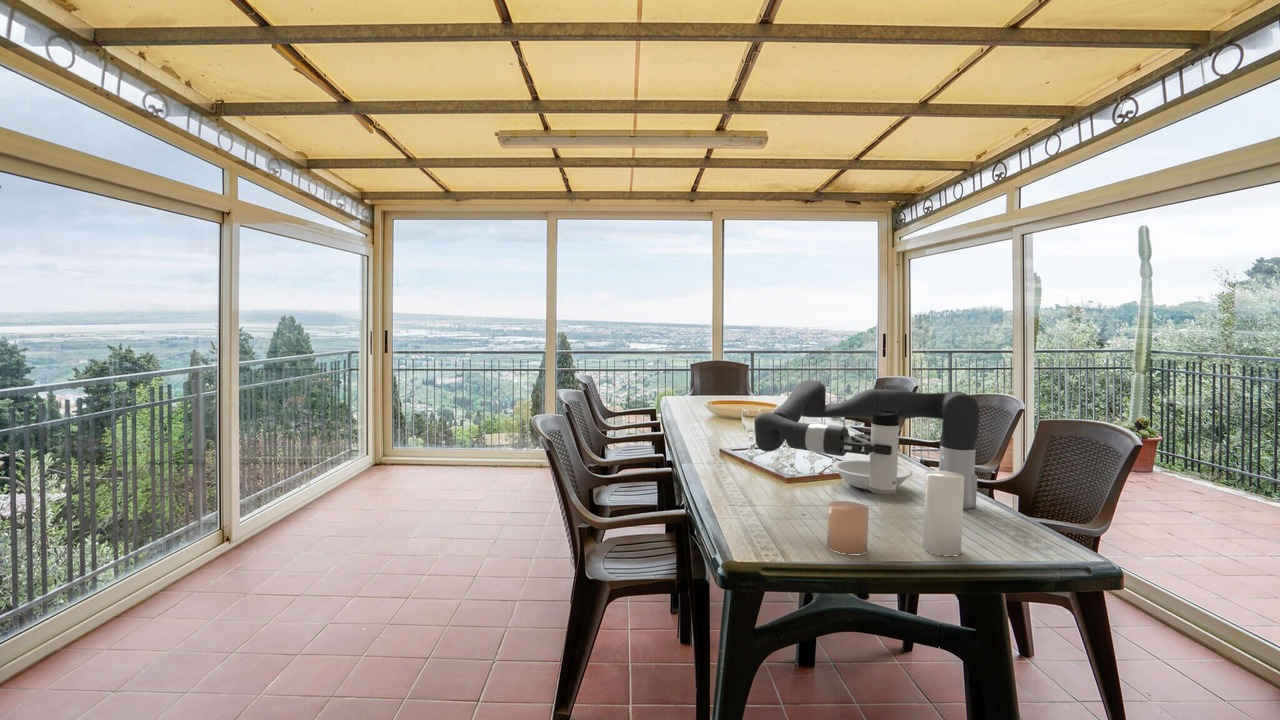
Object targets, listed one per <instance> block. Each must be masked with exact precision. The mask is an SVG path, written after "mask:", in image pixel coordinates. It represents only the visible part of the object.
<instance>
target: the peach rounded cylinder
mask: <svg viewBox="0 0 1280 720" xmlns="http://www.w3.org/2000/svg"><path fill="white" fill-rule="evenodd" d="M869 513H870V511H869V507H868V506H867V505H865V504H863V503H859V502H855V501H847V500H834V501H831V502H829V503H828V504H827V530H826V532H827V533H826V534H827V536H826V539H827V540H826V547H827V546H828V547H829V548H830V549H832V550H834V551H837V552H840V553H845V554H863V553H865V552H867V553H868V545H869V541H868V540H869V539H868V538H869Z"/></svg>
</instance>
